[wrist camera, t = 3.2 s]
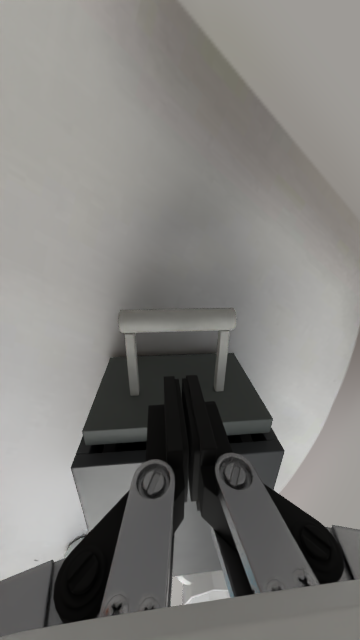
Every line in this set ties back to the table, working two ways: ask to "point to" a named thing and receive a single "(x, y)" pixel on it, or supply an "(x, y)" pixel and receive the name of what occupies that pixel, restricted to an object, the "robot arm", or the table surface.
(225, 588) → the cup
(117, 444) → the grey drawer
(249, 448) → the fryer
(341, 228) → the table surface
